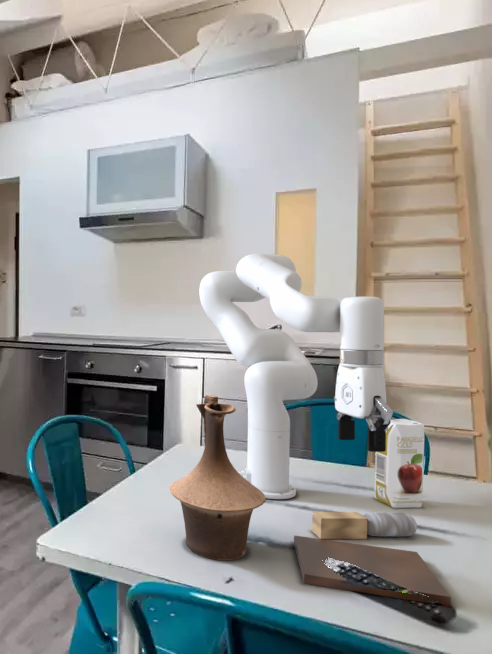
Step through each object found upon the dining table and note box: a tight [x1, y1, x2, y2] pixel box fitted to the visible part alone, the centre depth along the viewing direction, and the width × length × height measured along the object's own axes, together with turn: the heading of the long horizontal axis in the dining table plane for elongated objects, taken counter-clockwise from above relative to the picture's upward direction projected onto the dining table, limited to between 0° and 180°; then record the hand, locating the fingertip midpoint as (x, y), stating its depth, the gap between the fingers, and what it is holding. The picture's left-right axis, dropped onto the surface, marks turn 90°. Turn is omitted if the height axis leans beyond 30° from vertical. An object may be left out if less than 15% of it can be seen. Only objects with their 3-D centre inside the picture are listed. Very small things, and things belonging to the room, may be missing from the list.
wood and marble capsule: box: [311, 511, 418, 540], centre depth 107 cm, size 20×4×4 cm, turn 91°
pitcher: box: [169, 394, 267, 561], centre depth 101 cm, size 18×17×28 cm
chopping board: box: [293, 535, 452, 607], centre depth 92 cm, size 20×16×2 cm
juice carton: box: [373, 418, 425, 509], centre depth 125 cm, size 8×9×19 cm
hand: (360, 445), depth 108 cm, fingers open, 9 cm apart
